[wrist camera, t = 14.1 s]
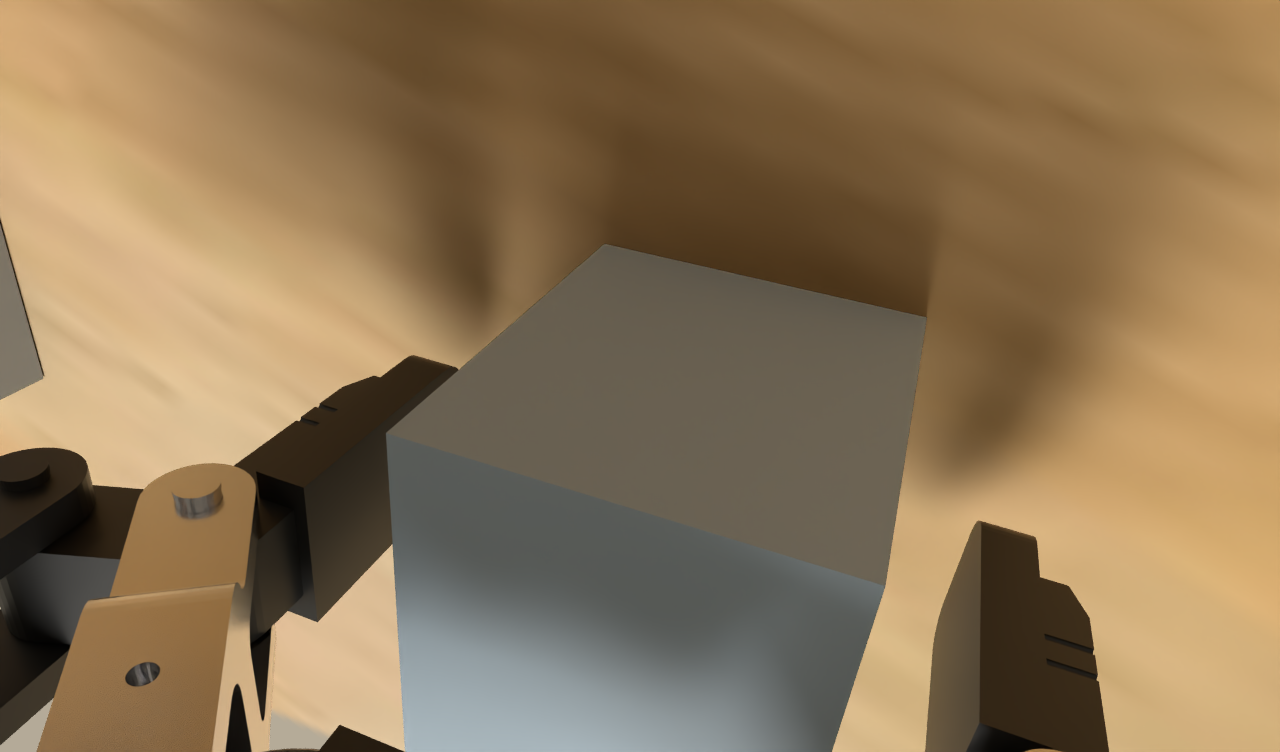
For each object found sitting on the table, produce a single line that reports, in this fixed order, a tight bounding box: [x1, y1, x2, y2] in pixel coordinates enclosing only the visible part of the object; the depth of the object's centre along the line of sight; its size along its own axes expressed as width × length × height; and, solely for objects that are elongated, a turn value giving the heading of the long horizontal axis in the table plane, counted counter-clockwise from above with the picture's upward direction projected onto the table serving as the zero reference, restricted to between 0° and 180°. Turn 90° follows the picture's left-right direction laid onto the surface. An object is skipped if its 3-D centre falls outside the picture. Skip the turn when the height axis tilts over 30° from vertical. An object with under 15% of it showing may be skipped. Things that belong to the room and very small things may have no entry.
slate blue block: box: [386, 244, 927, 752], centre depth 12 cm, size 5×5×6 cm
